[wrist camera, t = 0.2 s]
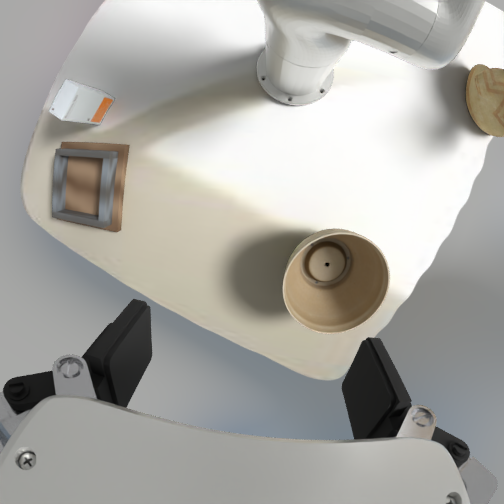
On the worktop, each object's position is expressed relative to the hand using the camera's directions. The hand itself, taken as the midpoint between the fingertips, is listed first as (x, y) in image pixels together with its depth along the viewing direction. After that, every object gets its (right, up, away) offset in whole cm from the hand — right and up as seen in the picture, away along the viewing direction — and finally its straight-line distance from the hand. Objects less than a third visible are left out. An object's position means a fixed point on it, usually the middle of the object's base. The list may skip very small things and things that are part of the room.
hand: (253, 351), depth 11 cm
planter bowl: (+13, +3, +37) cm, 40 cm away
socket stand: (-31, +17, +34) cm, 50 cm away
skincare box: (-28, +31, +30) cm, 52 cm away
